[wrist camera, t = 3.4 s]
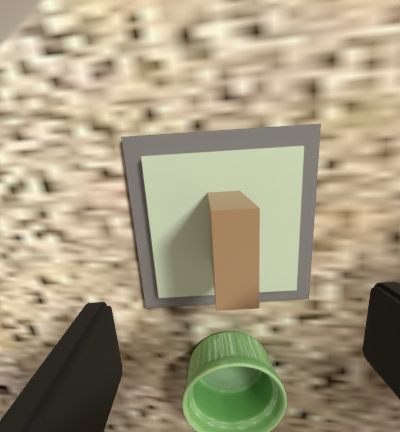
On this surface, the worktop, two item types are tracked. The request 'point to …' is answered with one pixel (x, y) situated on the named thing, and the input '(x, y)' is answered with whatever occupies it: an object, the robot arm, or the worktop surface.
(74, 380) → the robot arm
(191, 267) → the lid
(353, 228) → the worktop surface
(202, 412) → the ramekin
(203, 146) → the mat
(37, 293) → the worktop surface
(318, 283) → the worktop surface
